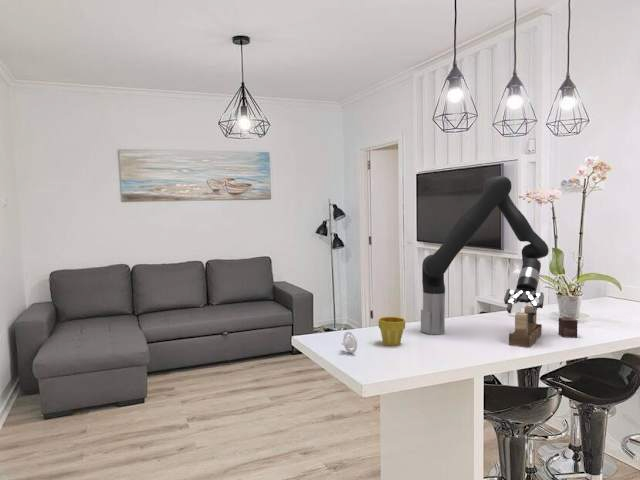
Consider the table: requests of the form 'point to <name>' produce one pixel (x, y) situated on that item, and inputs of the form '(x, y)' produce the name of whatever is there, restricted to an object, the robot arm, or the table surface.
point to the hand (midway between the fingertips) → (520, 313)
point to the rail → (525, 338)
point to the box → (568, 327)
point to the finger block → (521, 323)
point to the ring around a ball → (350, 342)
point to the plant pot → (391, 330)
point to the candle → (516, 306)
